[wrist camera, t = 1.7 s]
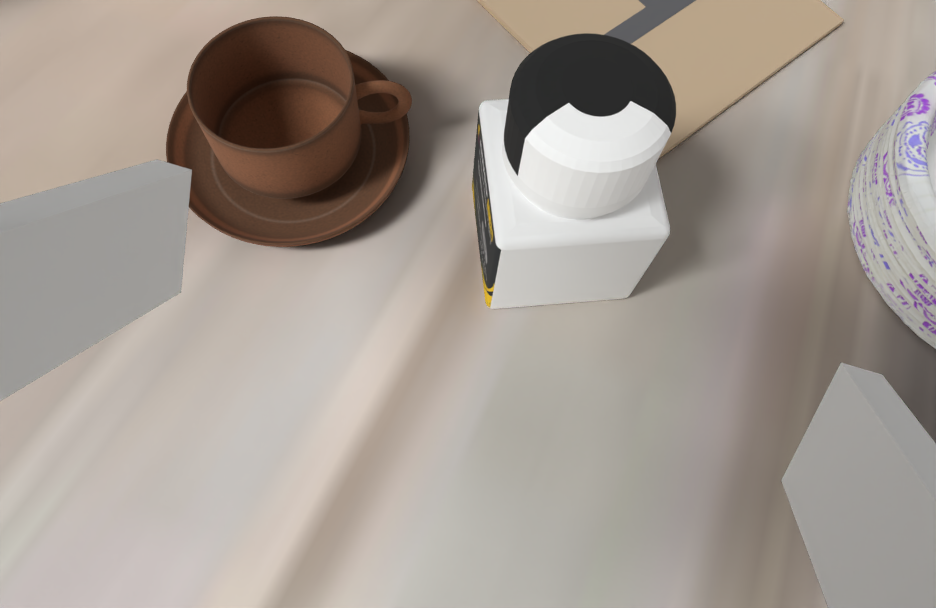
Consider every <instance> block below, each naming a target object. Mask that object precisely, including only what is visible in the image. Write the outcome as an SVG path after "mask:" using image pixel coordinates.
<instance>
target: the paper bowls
mask: <svg viewBox="0 0 936 608" xmlns="http://www.w3.org/2000/svg"><path fill="white" fill-rule="evenodd" d="M850 183H851V186H850V188H849V197H848V210H847V212H848V216H849V226H850V229H851V237H852V239H853V242H854V248H855V251H856V253H857V254H858V258H859V260H860V262H861V265H862V266H863V270H864V271H866V275H867V277H868V279H869V280H870V281H871V282H872V284H873V285H874V287H875V288H876V289H877V291H878V292H879V293H880V295H881V296H882V298H883V300H884V301H885V302H886V303H887V305H888V306H889V307H890V308H891V309H892V310H893V311H894V312H895V313H896V314H897V315H898V316H899V317H900V318H901V320H902V321H903V323H904V324H906V325H907V326H908V327H909V328H910V329H911V330H912V331H914V332H915V333H916V335H917V336H919V337H920V338H921V339H923V340H924V341H925V342H927V343H928V344H929V345H931V346H932V347H933V348H935V349H936V71H935V72H933V73H932V74H930V75H929V76H928V77H927V78H926V79H925V80H924V81H923V82H921V83H920V85H919V86H918V87H917V88H916V89H915V90H914V91H913V92H912V93H911V94H910V95H909V96H908V98H907V99H906V100H905V102H904V103H903V104H902V105H901V106H900V107H899V108H898V109H897V110H896V112H895V113H894V114H893V115H892V116H891V117H890V118H889V119H888V120H887V121H886V122H885V123H884V124H883V125H882V127H881V128H880V129H879V130H878V131H877V133H876V134H875V135H874V137H873V138H872V139H871V140H870V141H869V143H868V144H867V146H866V147H865V149H864V150H863V152H862V153H861V155H860V157H859V159H858V160H857V163H856V166H855V168H854V170H853V173H852V178H851V180H850Z"/></svg>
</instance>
